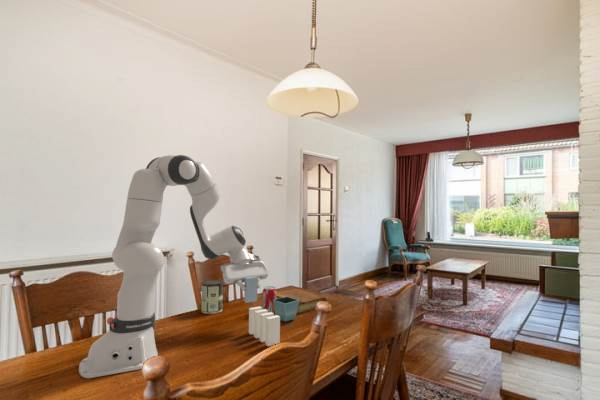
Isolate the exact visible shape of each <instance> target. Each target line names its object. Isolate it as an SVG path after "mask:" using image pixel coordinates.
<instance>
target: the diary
mask: <svg viewBox="0 0 600 400" xmlns="http://www.w3.org/2000/svg"><path fill="white" fill-rule="evenodd" d="M283 297H291V298H294V299H297V300H299V305H298V311H297V314H298V315H301V314H305V313H308V311H309V312H311V311H315V310H314V309H315V305H316V303H317V302H319V301H326V302H327V298H326V296H323V295H320V294H316V293H314V292H313V293H312V292H309V291H306V290H303V289H300V288H292V289H287V290H282V291H278V292H277V299H278V298H283Z"/></svg>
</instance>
